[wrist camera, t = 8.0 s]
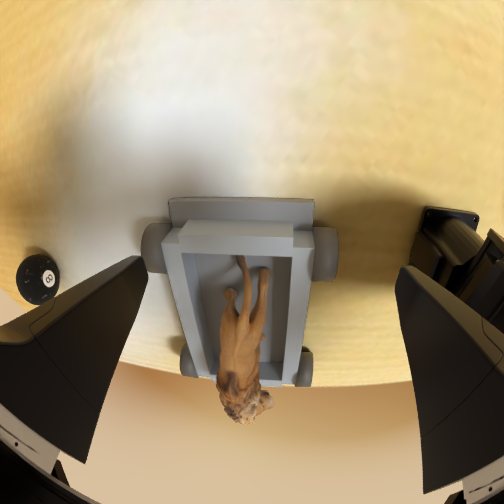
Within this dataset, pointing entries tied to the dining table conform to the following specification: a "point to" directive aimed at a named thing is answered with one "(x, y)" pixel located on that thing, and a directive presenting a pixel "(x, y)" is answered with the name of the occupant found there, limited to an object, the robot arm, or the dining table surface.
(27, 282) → the billiard ball
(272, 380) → the chassis
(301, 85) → the dining table surface
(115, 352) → the robot arm
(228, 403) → the lion figurine
